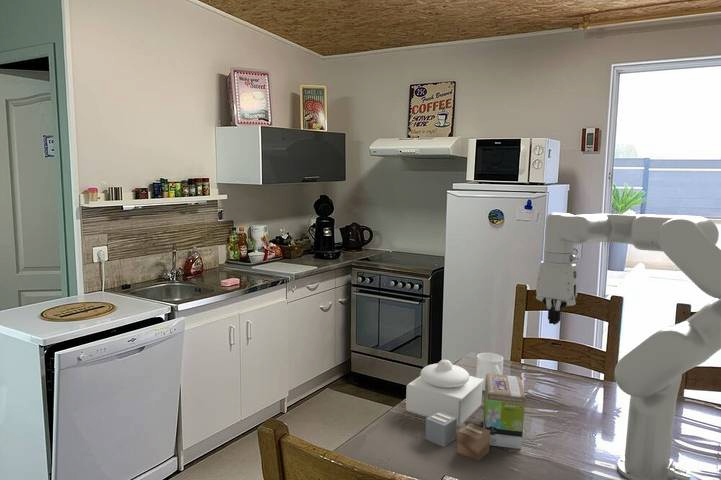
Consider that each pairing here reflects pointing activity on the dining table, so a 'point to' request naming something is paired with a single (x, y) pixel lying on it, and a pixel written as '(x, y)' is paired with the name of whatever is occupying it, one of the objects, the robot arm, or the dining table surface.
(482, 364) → the mug
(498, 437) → the tea box
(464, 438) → the walnut marked block
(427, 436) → the slate marked block
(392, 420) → the dining table surface
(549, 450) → the dining table surface
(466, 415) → the butter dish
